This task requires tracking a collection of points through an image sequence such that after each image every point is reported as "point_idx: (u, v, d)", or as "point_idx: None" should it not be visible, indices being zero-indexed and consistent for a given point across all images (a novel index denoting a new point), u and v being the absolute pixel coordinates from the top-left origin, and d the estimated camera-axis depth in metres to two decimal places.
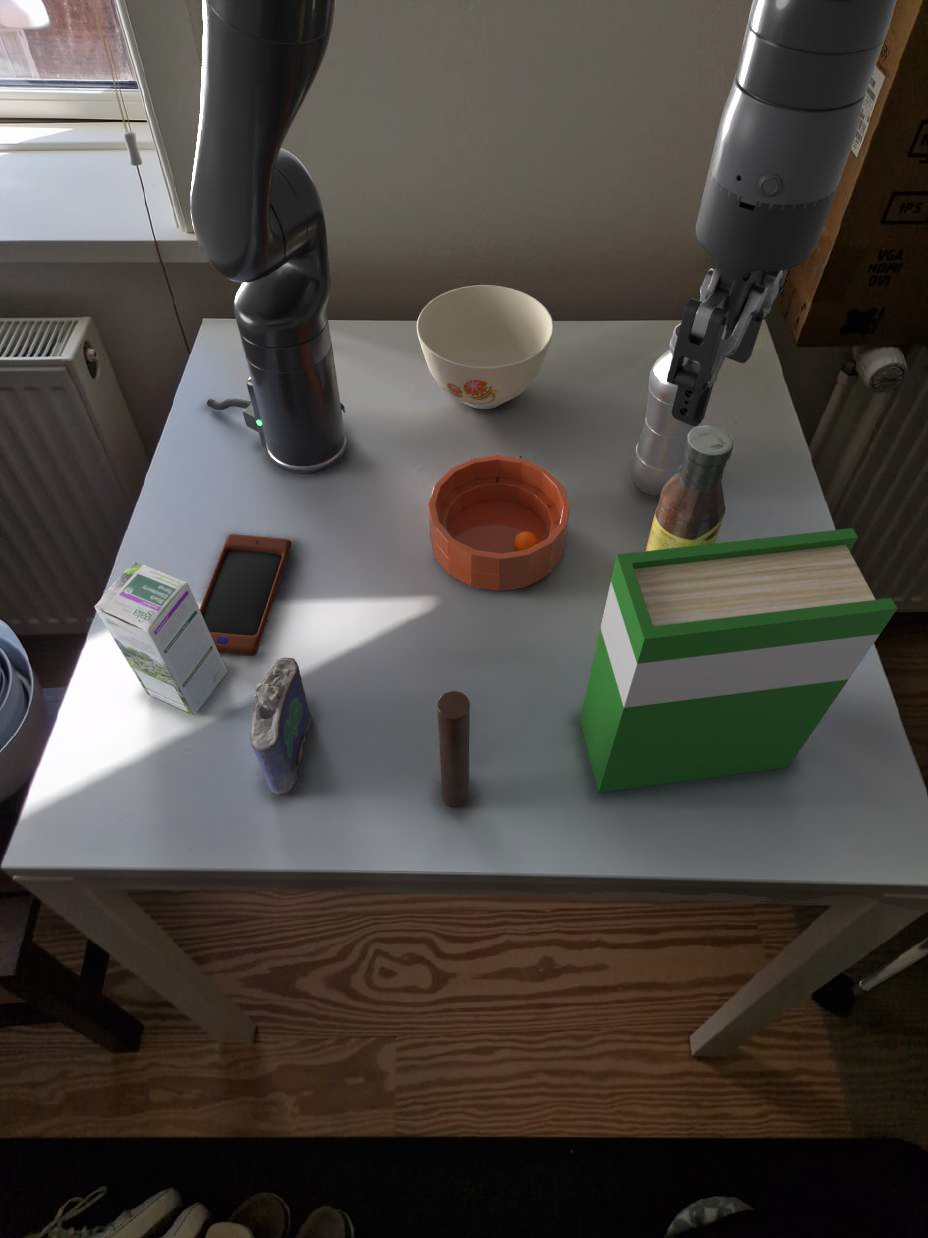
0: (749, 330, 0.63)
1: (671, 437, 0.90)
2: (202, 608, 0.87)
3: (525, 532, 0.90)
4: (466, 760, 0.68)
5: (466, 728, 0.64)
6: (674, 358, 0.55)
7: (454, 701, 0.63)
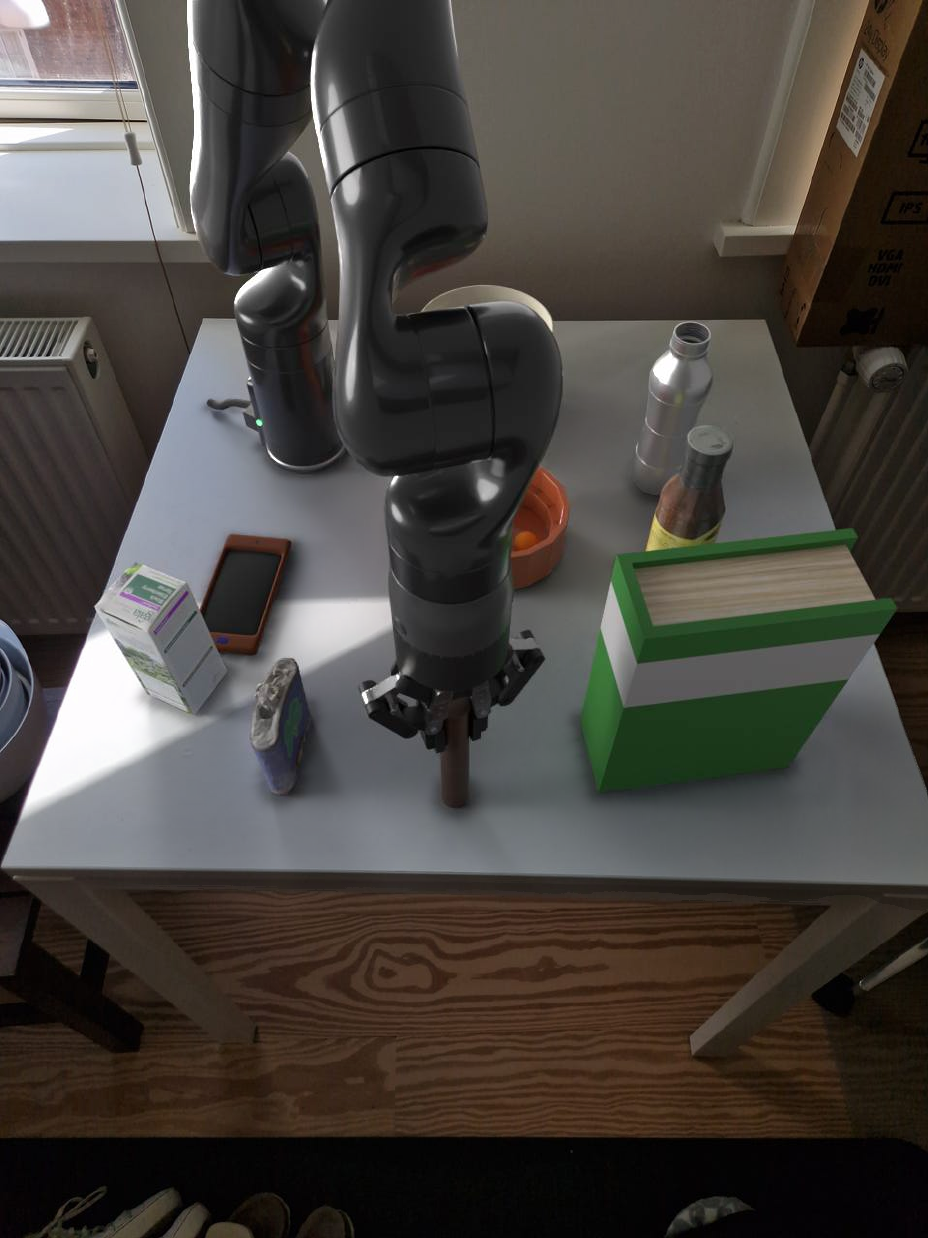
0: (470, 720, 0.64)
1: (671, 437, 0.90)
2: (202, 608, 0.87)
3: (525, 532, 0.90)
4: (466, 760, 0.68)
5: (466, 728, 0.64)
6: None
7: (455, 701, 0.63)
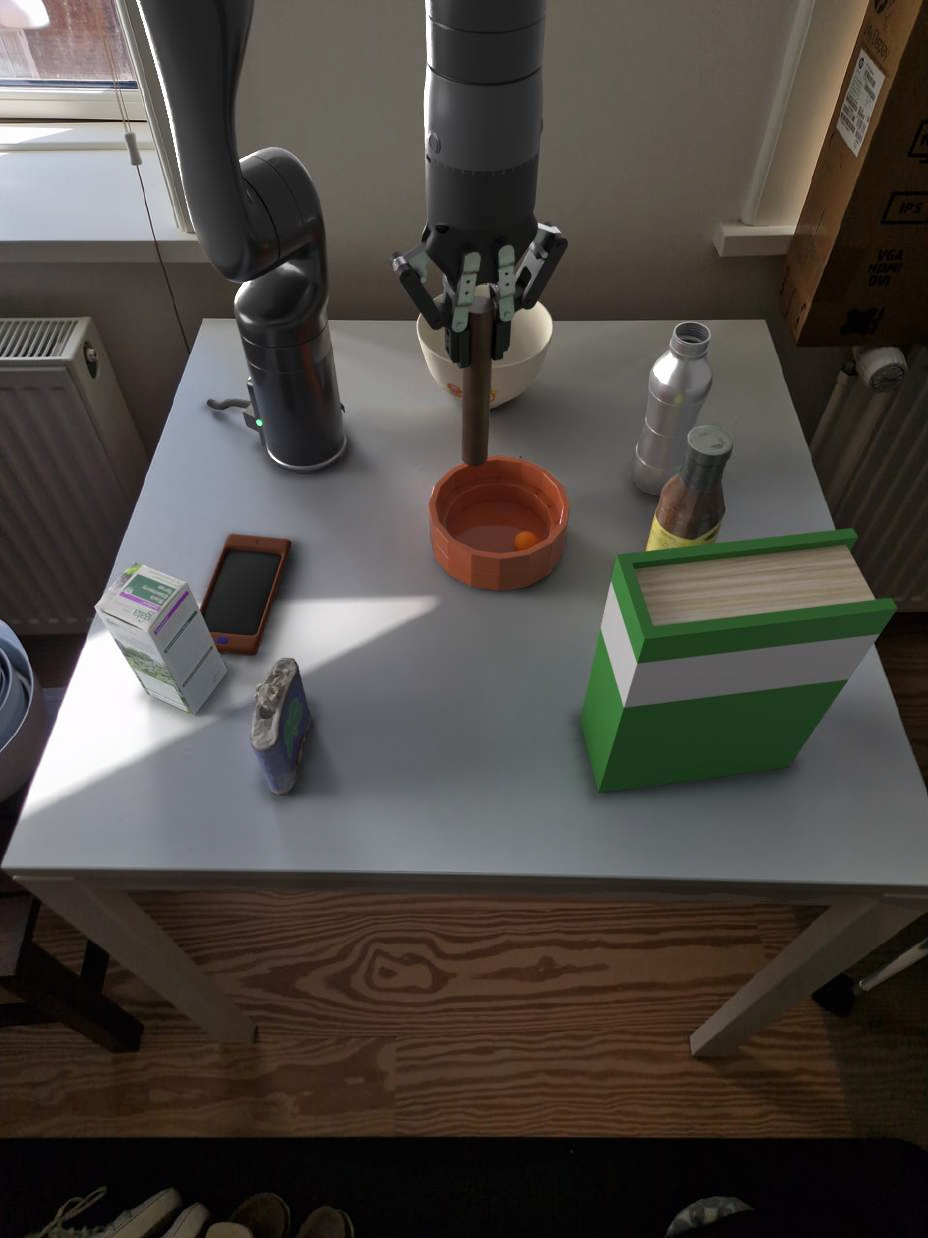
0: (494, 329, 0.67)
1: (671, 437, 0.90)
2: (202, 608, 0.87)
3: (525, 532, 0.90)
4: (488, 390, 0.71)
5: (490, 336, 0.67)
6: None
7: (480, 302, 0.66)
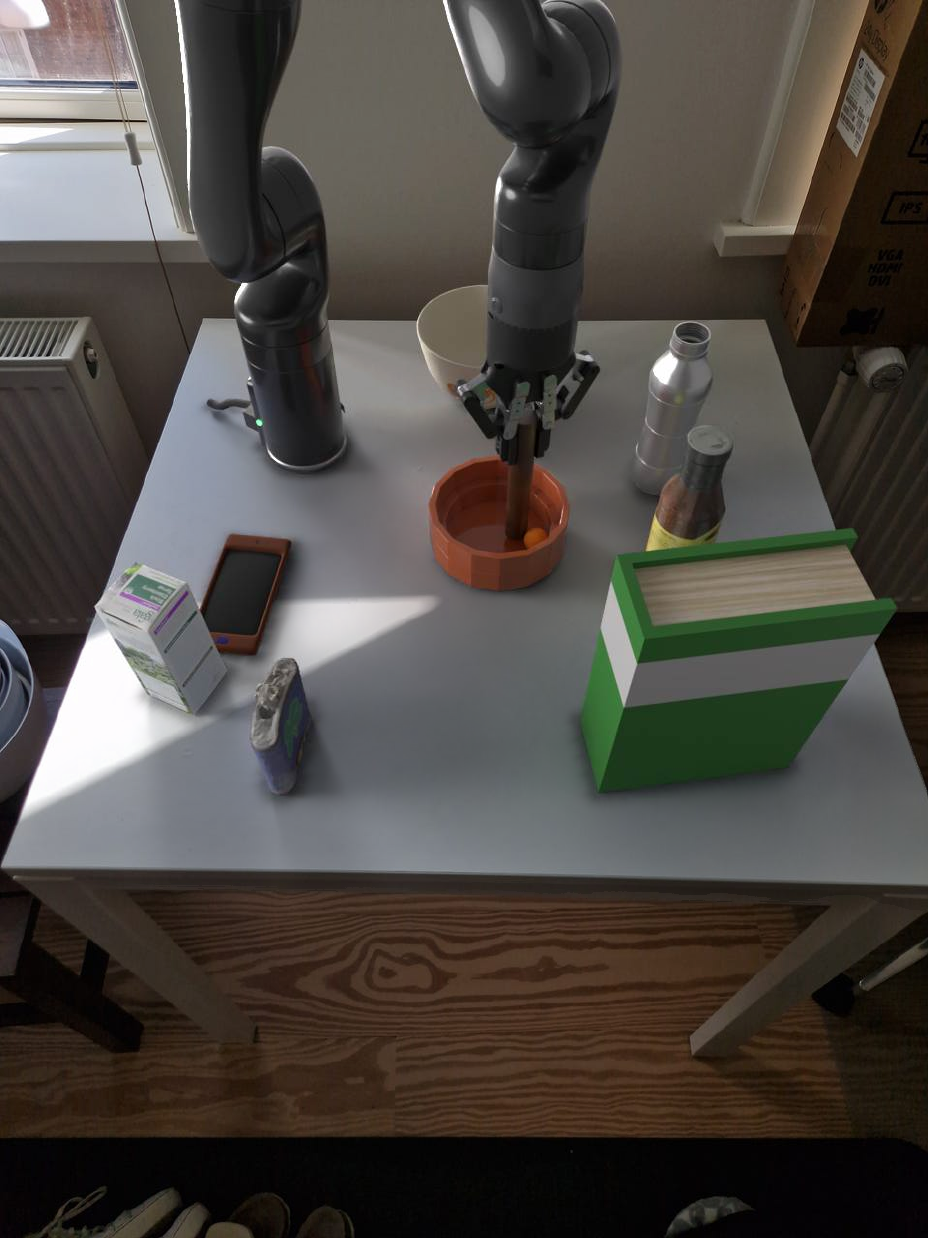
0: (537, 434, 0.80)
1: (671, 437, 0.90)
2: (202, 608, 0.87)
3: None
4: (530, 481, 0.84)
5: (533, 441, 0.80)
6: None
7: (526, 414, 0.79)
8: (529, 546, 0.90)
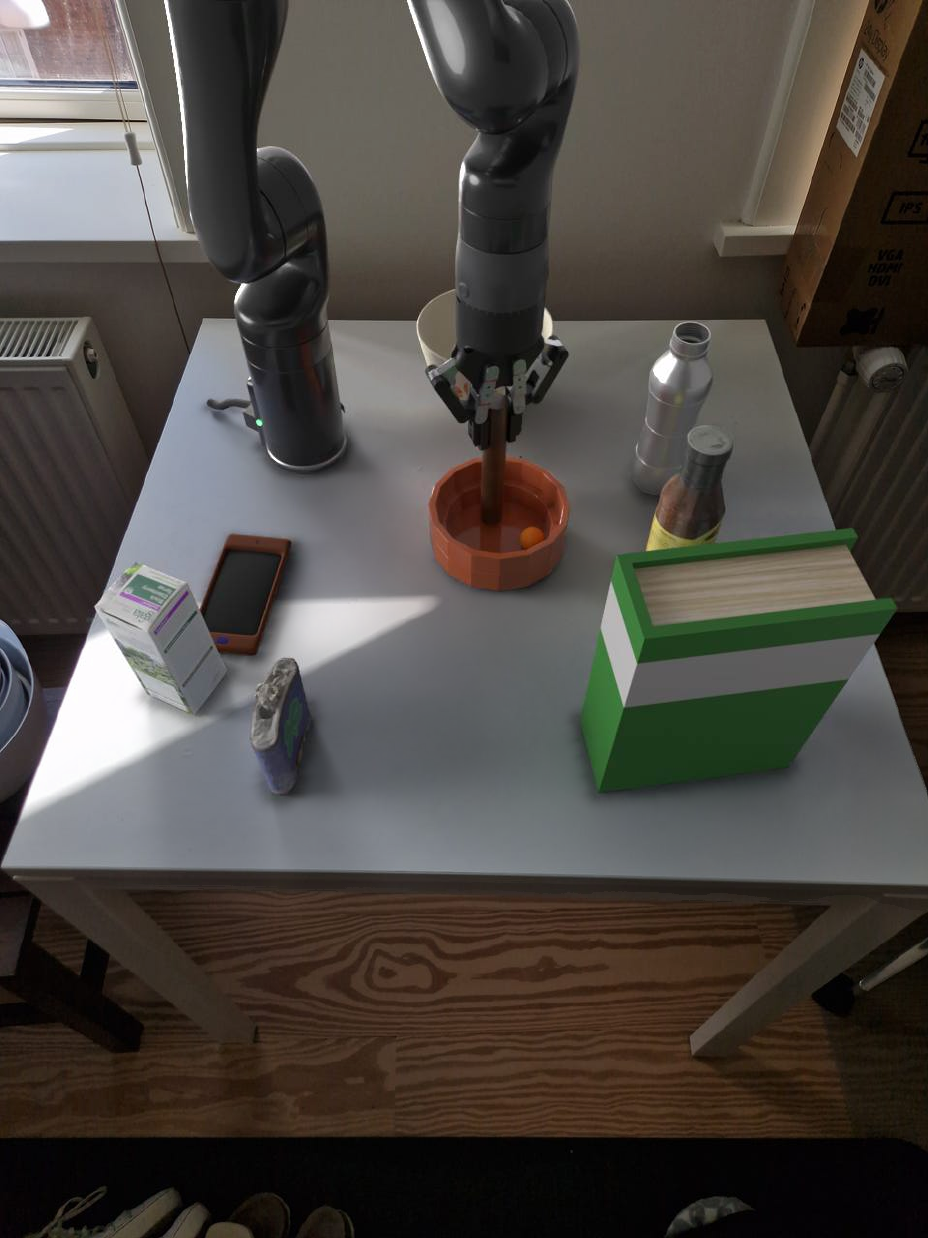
0: (508, 419, 0.82)
1: (671, 437, 0.90)
2: (202, 608, 0.87)
3: (537, 528, 0.90)
4: (503, 466, 0.86)
5: (505, 425, 0.81)
6: None
7: (497, 399, 0.80)
8: (525, 546, 0.90)
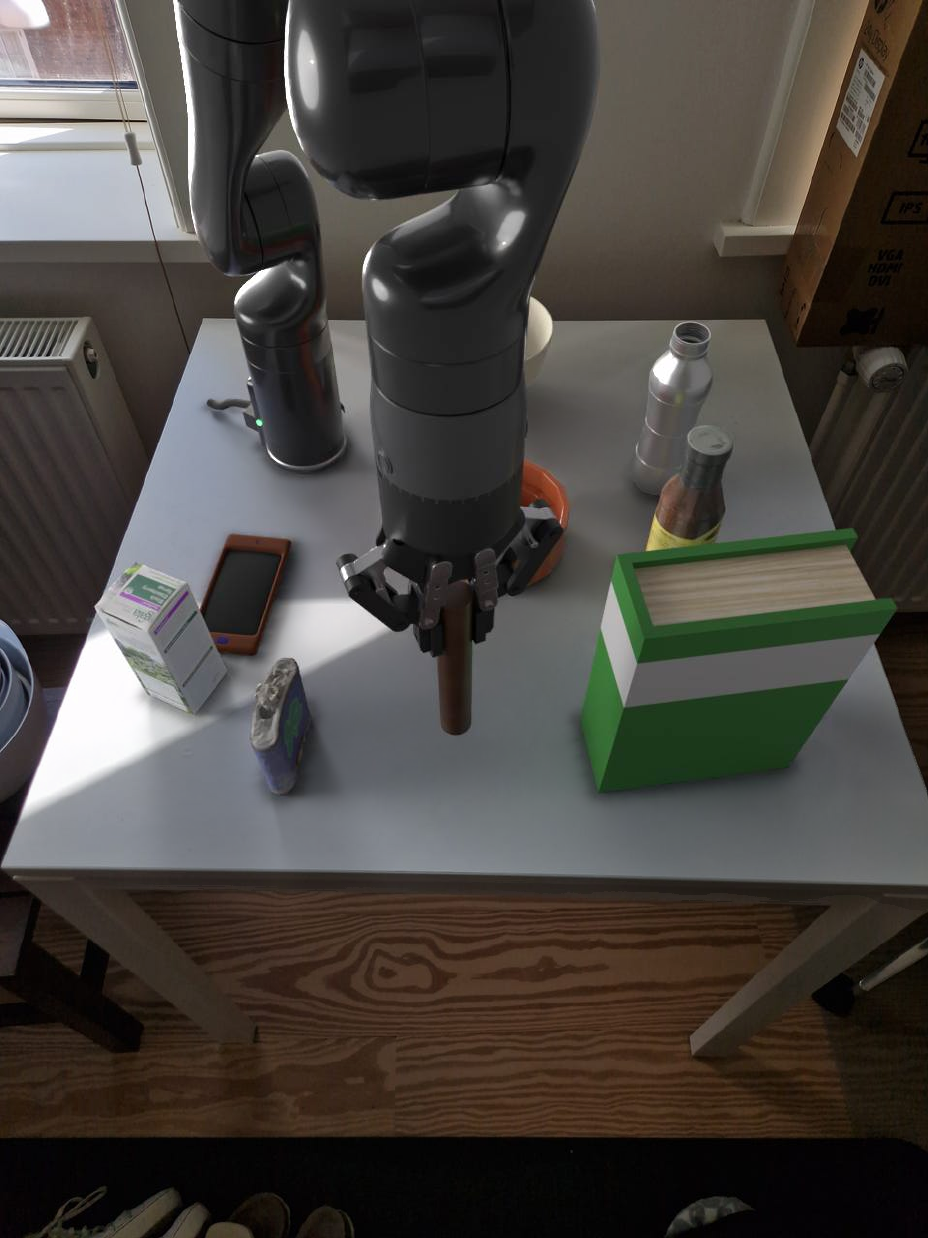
0: (473, 615, 0.54)
1: (671, 437, 0.90)
2: (202, 608, 0.87)
3: None
4: (468, 671, 0.58)
5: (468, 625, 0.54)
6: None
7: (455, 590, 0.52)
8: None
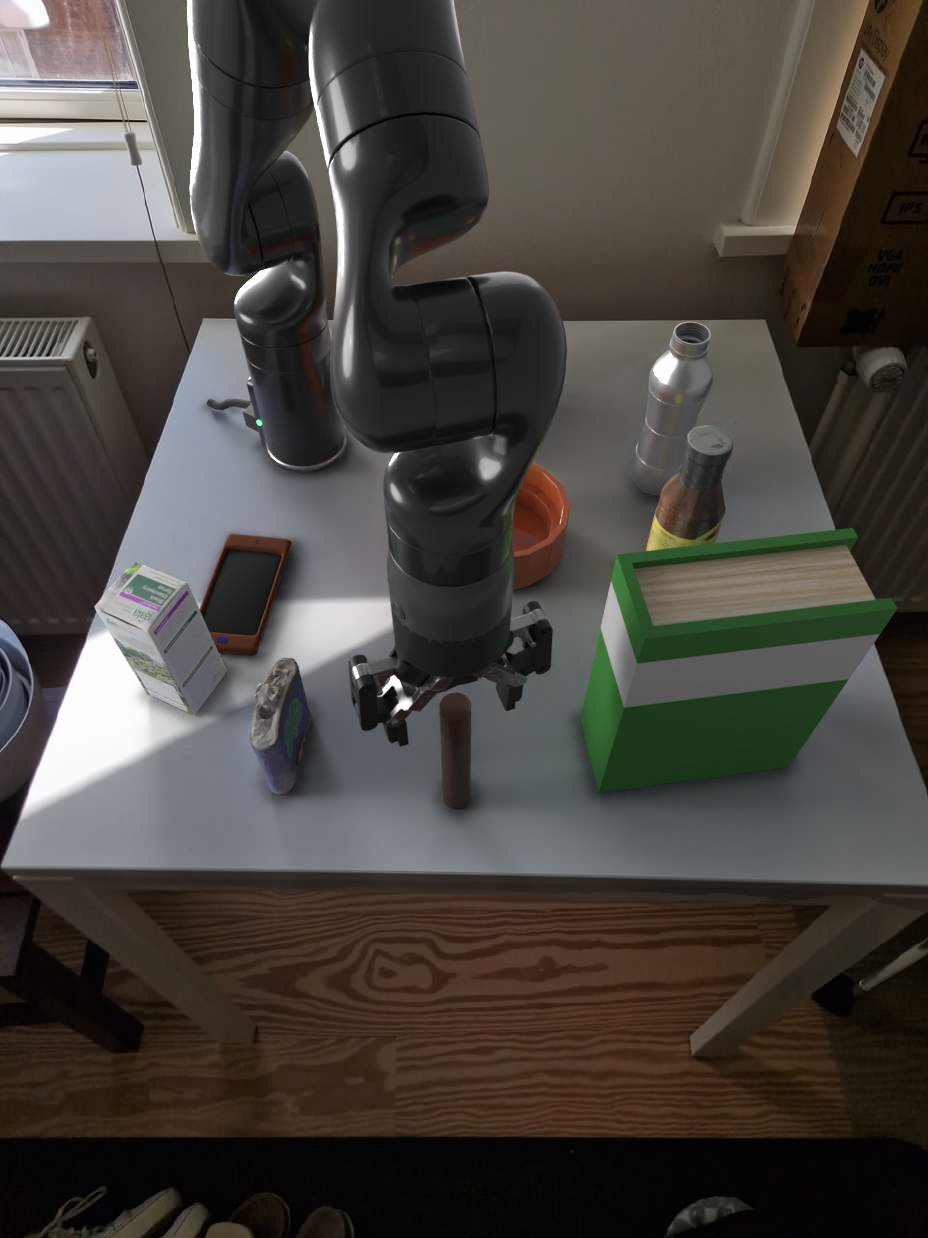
0: (505, 688, 0.63)
1: (671, 437, 0.90)
2: (202, 608, 0.87)
3: None
4: (467, 762, 0.68)
5: (467, 730, 0.64)
6: (351, 690, 0.59)
7: (456, 702, 0.63)
8: None
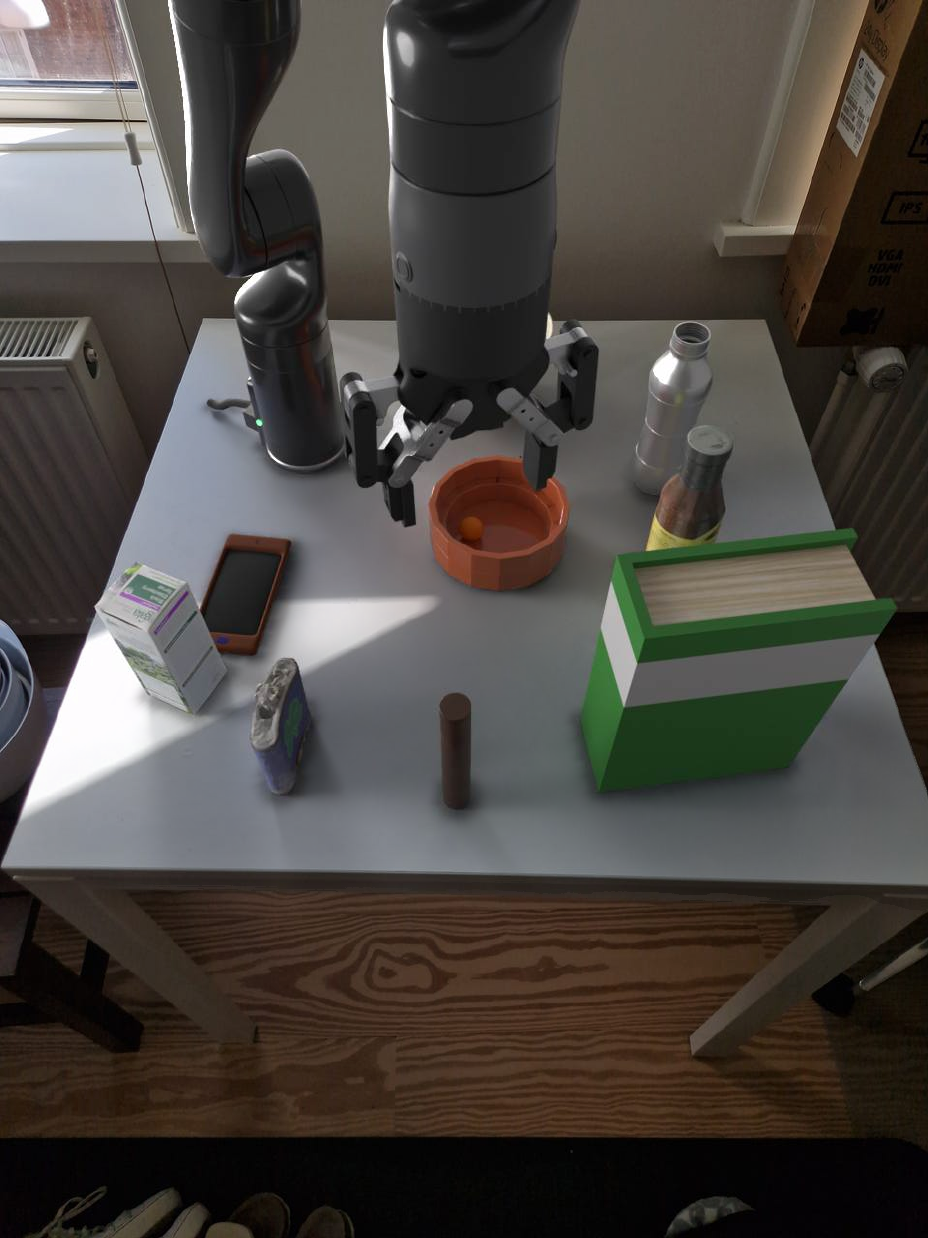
0: (535, 454, 0.51)
1: (671, 437, 0.90)
2: (202, 608, 0.87)
3: None
4: (467, 762, 0.68)
5: (467, 730, 0.64)
6: (343, 434, 0.46)
7: (456, 702, 0.63)
8: (467, 533, 0.90)
